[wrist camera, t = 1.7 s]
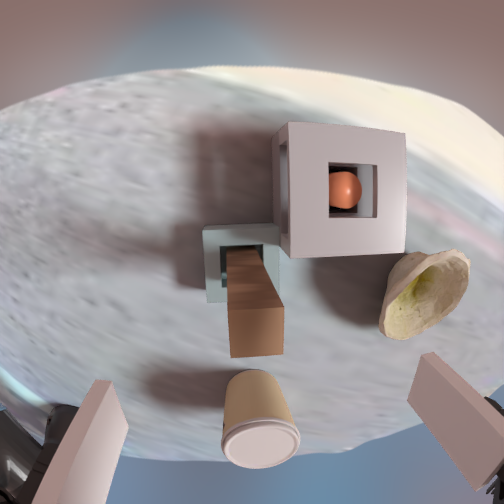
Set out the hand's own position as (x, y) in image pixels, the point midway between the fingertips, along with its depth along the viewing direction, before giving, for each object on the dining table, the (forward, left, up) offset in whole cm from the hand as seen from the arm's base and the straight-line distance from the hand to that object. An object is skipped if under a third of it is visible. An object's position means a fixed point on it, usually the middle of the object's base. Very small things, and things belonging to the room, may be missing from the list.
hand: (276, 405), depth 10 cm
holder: (0, 0, -25) cm, 25 cm away
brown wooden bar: (0, 0, -24) cm, 24 cm away
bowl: (+23, -5, -26) cm, 35 cm away
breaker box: (+10, +8, -25) cm, 28 cm away
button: (+10, +8, -23) cm, 26 cm away
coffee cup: (+1, -20, -26) cm, 33 cm away
